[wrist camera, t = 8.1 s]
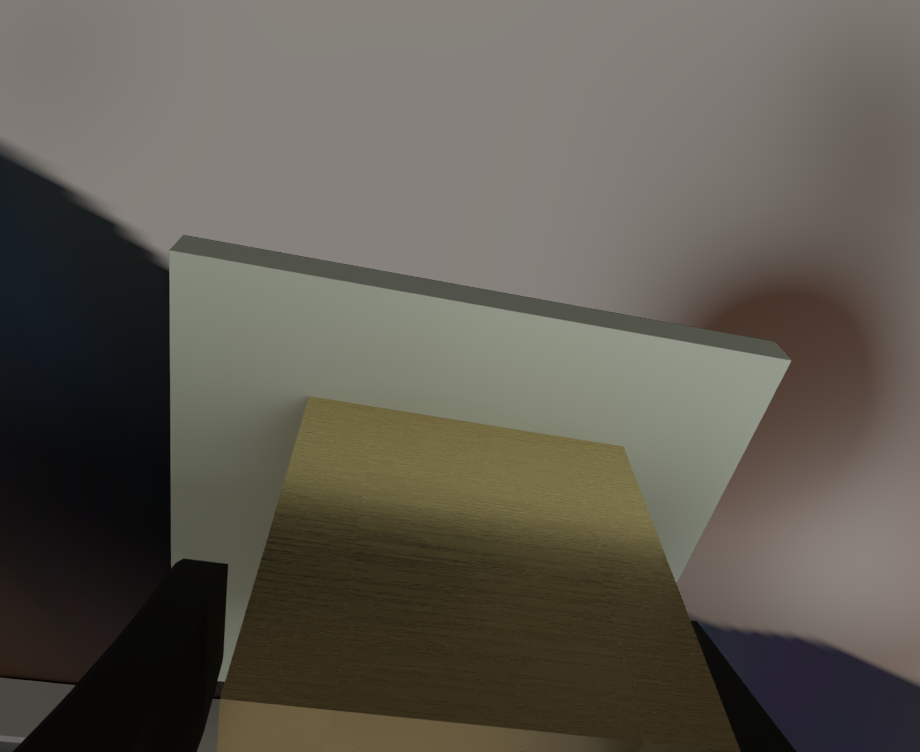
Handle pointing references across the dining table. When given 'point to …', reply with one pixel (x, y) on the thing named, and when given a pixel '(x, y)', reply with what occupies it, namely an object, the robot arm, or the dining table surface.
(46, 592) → the dining table surface
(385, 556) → the brass collar
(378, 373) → the sage mat
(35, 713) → the block
